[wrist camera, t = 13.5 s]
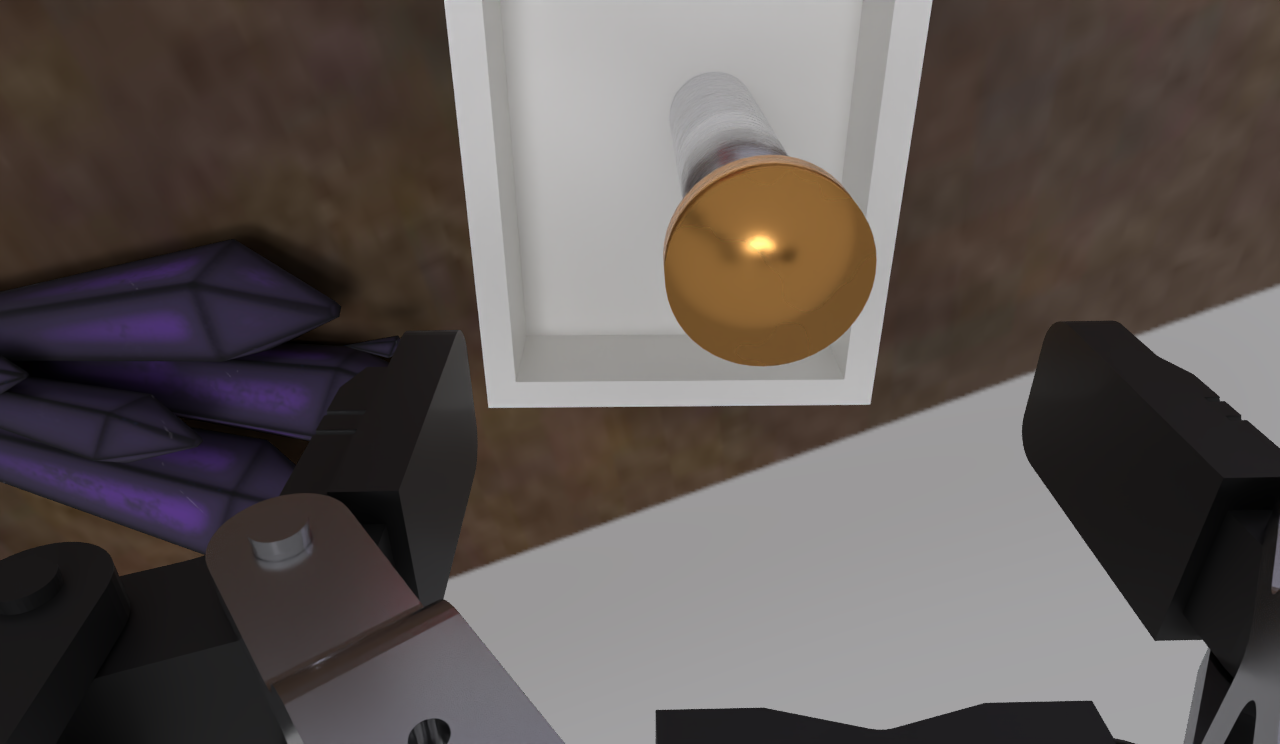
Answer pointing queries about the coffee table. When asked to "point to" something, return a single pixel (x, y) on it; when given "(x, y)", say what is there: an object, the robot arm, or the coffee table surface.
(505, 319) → the tray
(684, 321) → the lock pin
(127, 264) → the crystal
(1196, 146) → the coffee table surface
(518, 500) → the coffee table surface
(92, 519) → the coffee table surface
